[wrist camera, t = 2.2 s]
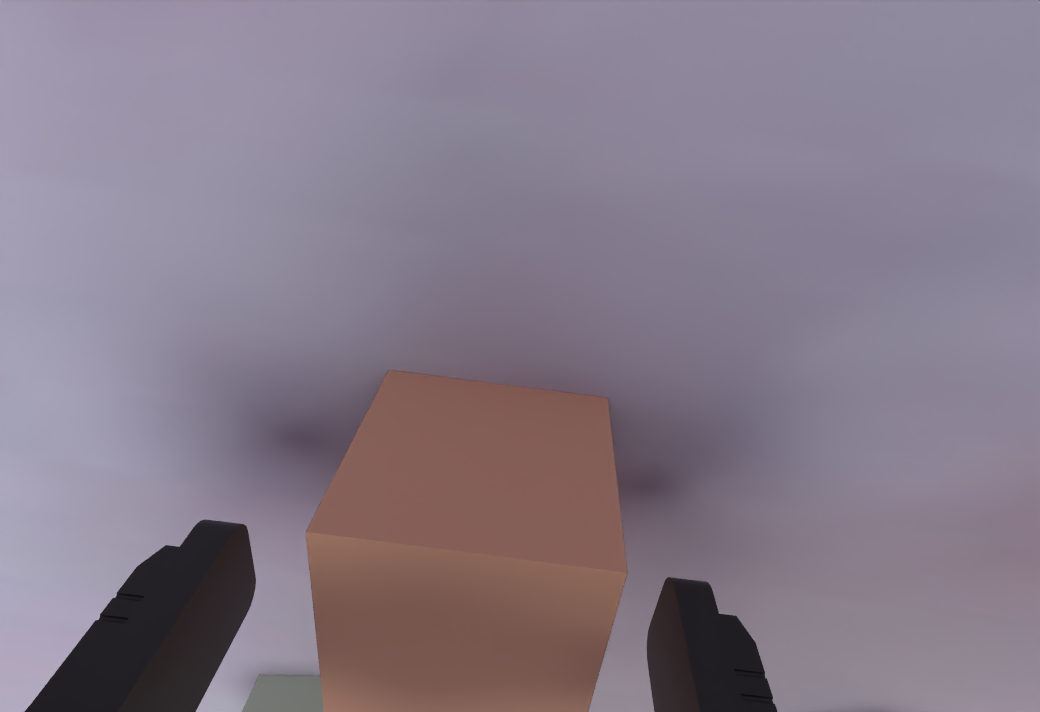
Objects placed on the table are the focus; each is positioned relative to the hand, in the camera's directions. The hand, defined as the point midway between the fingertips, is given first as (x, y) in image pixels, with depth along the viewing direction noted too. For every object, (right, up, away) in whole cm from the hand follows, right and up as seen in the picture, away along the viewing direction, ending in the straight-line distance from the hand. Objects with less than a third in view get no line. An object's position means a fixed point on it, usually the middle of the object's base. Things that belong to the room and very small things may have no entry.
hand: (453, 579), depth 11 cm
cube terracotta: (0, +2, +3) cm, 4 cm away
